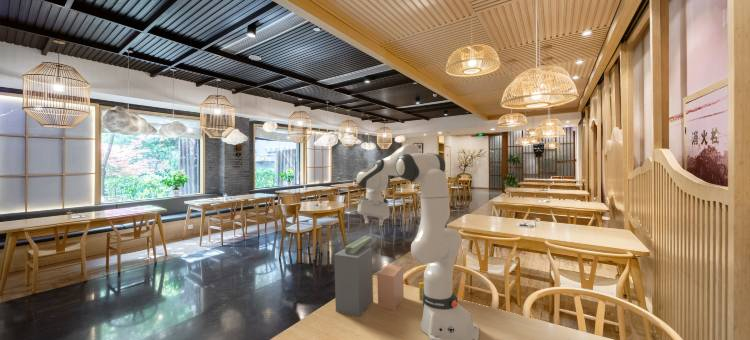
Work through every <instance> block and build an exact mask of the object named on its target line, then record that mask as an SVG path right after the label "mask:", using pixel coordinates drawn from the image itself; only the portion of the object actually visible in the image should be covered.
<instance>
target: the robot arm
mask: <svg viewBox="0 0 750 340" xmlns="http://www.w3.org/2000/svg"><path fill="white" fill-rule="evenodd" d="M445 170H446V161H445V159H444V158H443V156H442V155H440V154H438V153H434V152H426V153H425V152H424V153H422V152H421V151H420V149H419V148H418V147H417V145H414V144H412V143H405V144H404V145H402V146H400V147H399V148H397V149H396V150H395V151H394V152H393V153H391V154H389V155H388V156H387V157H384V158H381V159H379V160H378V159H377V160H376V161H374V162H373V163H371V164H370V165H368V166H367V167H366V168H363V169H360V170H359V171H358V172H357V174H356V179H355V181H356V184H357V186H358V187H359V188H360V189H365V190H366V193H365V197H363V196H360V197H359V198H358V199H357V201H358V204H357V214H359V215H362V217H363V219H364V224H369V223H370V219H368V218H369V217H368V216H370V217H374V218H379V219H380V221H378V226H384V224H383V223H384V222H385V221H384V220H385V219H389V218H390V216H391V215H390V213H391V212H390V206H389V203H390V201H389V200H388V199H386V198H385V197H383V196H382V191H385V190H387V189H388V188H390V186H391V177H390V176H395V177H396V176H397V177H399V178H401V179H404V180H406V181H408V182H410V183H414V182H415V181H416V182H418V183H419V187H420V191H419V192H420V212H421V213H420V222H419V227H418V230H417V234H416V236H415V237H414V239H413V241H412V242H411V244H410V251H411V252H410V253H411V256H412V257H413V259H414V261H416V262H417V263H419V264H421V265H427V266H426V267H425V269H424V272H423V282H424V291H423V300H422V305H423V312H422V317H421V318H422V319H421V322H420V329H421V331H423V333H425V334H426V335H427V336H428V338H429V340H479V339H480V329H479V326H478V325H477V324H476V323H475V322H473V317H472V315H471V313H470V312H469V311H468V310H467V309H465V308H464V307H463V306H462V305H460V304H459V302H458V294H454V292H453V293H452V282H453V272H454V268H455V265H456V260H457V256H458V253H459V250H460V249H461V247H462V243H463V239H462V235H461V234H460V233H459V231H457V229H455V228H450V227H446V224H447V222H448V220H449V218H450V215H451V213H450V212H451V210H450V208H451V207H450V194H449V185H448V181H447V177H446V174H445Z"/></svg>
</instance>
